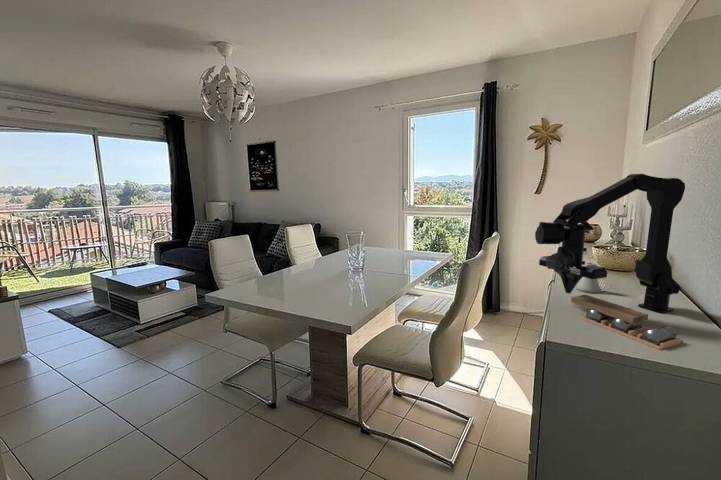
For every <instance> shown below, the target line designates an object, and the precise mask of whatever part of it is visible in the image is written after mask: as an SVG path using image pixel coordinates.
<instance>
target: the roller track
mask: <svg viewBox="0 0 721 480" xmlns="http://www.w3.org/2000/svg"><path fill="white" fill-rule="evenodd" d="M580 319H581V320H583V321H585V322H587V323H590V324H592V325H595V326H598V327H600V328H603V329H605V330H609V331H610V332H612V333H616V334H618V335H620V336H623V337H626V338H629V339H631V340H634V341H636V342H638V343H641V344H644V345H646V346H648V347H651V348H654V349H656V350H660V351H661V350H662V349H667V348H671V347H674V346H678V345H681V344H684V342H685V341H684V339H681V338H678V337H676V339H673V340H670V341H666V342H662V343H660V344H659V345H658V344H657V345H655V344H652V343H650V342H647V341H645V340H643V338H642V334H643V332H644V331H647V330H651V329H652V328H650V327H648V326H644V325H643V326H642V327H641V328H639V329H634V330H630V331H627V332H621V331H619V330H616V329H613V328H612V326H611V322H612V321H613V320H615V319H617V318H612V319H607V320H603V321H600V322H595V321H593V320H590V319H587V317H586V313H584V314H583V316H581V317H580Z"/></svg>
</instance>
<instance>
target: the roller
mask: <svg viewBox="0 0 721 480" xmlns="http://www.w3.org/2000/svg"><path fill="white" fill-rule="evenodd" d="M650 329H651V330H647V331H644V332H643V334H642V338H643V339H642V340H645V341H647V342H650V343H652V344H655V345H657V346H658V345H660V343H662V342H666V341H670V340H673V339H676V338H678V336H677V334H678V333H677V331H676V330H675V328H673V327H672V326H669V325H664V326H660V327H656V328H653V329H652V328H650Z"/></svg>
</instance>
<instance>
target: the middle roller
mask: <svg viewBox="0 0 721 480" xmlns="http://www.w3.org/2000/svg"><path fill="white" fill-rule="evenodd" d="M611 326H612V328H613V329H616V330H619V331H621V332H624V333H627V332H628V331H631V330H635V329H639V328H641V327H642V326H643V327H644V321H642V322H638V323H634V324H632V323H629V322H626V321H623V320H620V319H615V320H613V321H612V322H611Z"/></svg>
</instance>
